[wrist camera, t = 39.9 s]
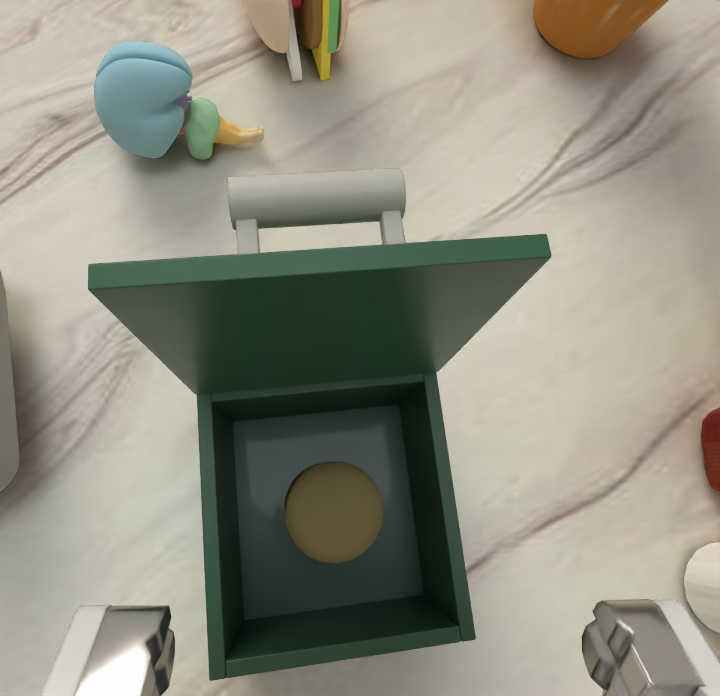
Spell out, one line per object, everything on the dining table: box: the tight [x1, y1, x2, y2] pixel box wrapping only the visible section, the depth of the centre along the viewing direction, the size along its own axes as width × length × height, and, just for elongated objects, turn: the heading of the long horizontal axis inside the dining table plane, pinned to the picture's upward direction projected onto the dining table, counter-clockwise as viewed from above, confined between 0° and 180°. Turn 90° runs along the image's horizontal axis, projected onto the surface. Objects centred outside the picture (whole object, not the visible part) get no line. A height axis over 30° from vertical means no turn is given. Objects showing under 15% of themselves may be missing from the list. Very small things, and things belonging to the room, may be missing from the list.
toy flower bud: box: [94, 41, 264, 160], centre depth 41 cm, size 7×9×12 cm
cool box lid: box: [88, 168, 551, 394], centre depth 24 cm, size 15×14×5 cm
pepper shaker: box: [284, 461, 384, 564], centre depth 33 cm, size 6×6×11 cm
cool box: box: [197, 372, 476, 681], centre depth 34 cm, size 15×14×10 cm
